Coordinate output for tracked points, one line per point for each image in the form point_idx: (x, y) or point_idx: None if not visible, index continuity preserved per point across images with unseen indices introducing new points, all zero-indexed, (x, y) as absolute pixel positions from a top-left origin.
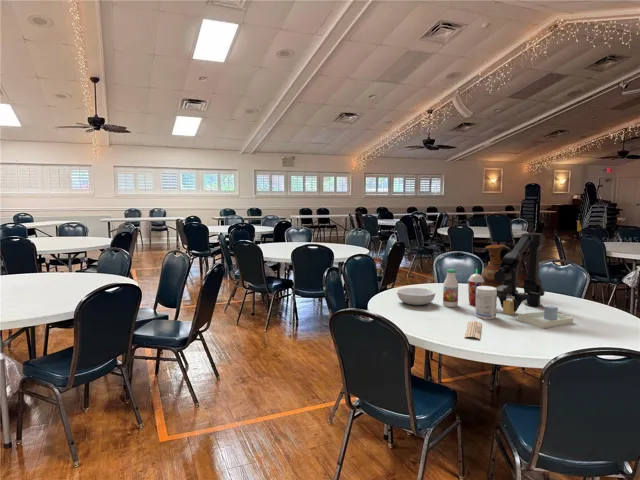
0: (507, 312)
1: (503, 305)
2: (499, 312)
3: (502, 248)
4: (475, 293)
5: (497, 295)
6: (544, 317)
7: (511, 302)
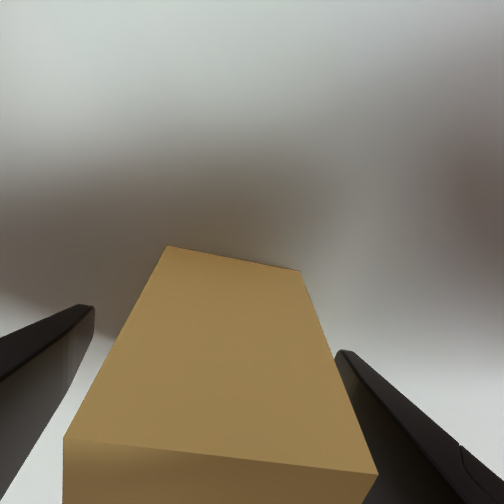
0: (204, 260)
1: (322, 349)
2: (329, 206)
3: None
4: None
5: None
6: None
7: (65, 488)
